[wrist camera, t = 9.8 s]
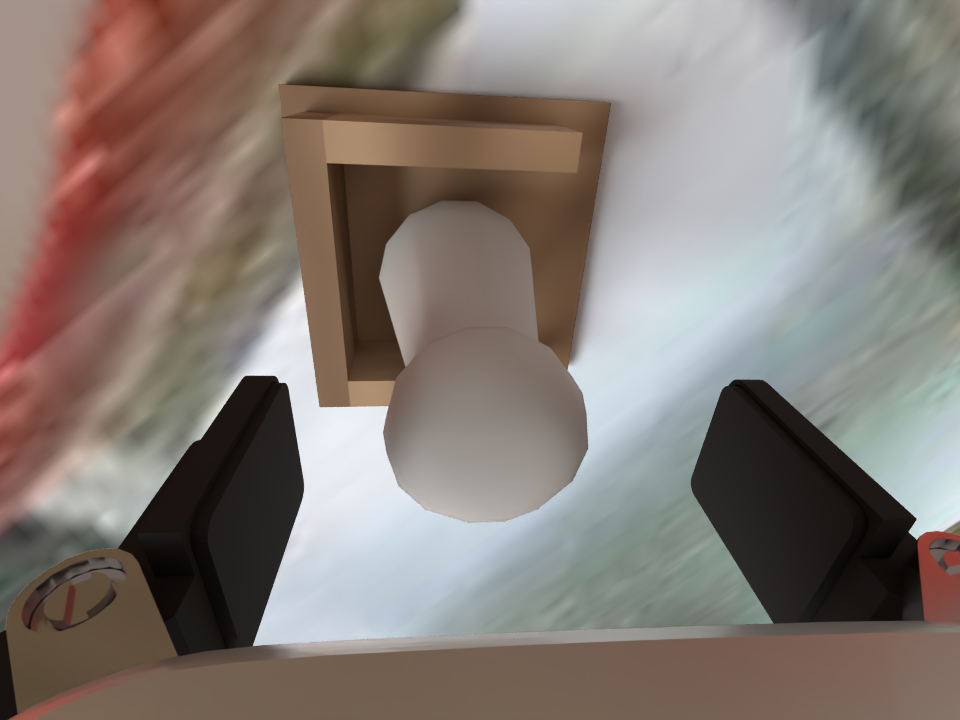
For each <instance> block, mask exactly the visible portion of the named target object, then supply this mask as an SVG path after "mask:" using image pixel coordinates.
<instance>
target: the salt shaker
mask: <svg viewBox="0 0 960 720" xmlns="http://www.w3.org/2000/svg"><path fill="white" fill-rule="evenodd" d="M379 280H380V283H381V286H382V290H383V293H384V296H385V300H386V303H387V306H388V310H389V313H390V317H391V320H392V323H393V327H394V330H395V333H396V337H397V340H398V343H399V347H400V350H401V353H402V357H403V360H404V364H405V369H404V370H403V371H402V372H401V373H400V374H399V375H398V377H397V378H396V381H395V384H394V388H393V392H392V396H391V400H390V404H389V408H388V412H387V416H386V421H385V426H384V431H383V435H384V440H385V446H386V452H387V455H388V458H389V461H390V463H391V466H392V469H393V472H394V474H395V477H396V480H397V483H398V485H399V487H400V488H401V489H403V490H404V491H405V492H406V493H407V494H408V495H409V496H411V497H412V498H413V499H414V500H415V501H416V502H417V503H418V504H420V505H421V506H422V507H423V508H424V509H425V510H427V511H431V512H434V513H437V514H441V515H444V516H448V517H451V518H454V519H458V520H461V521H465V522H468V523H476V522H505V521H508V520H510V519H513V518H515V517H518V516H521V515H523V514H526V513H529V512H531V511H534V510H537V509H539V508H540V507H541V506H542V505H543V504H545V503H546V502H547V501H548V500H550V499H551V498H552V497H553V496H555V495H556V494H557V493H558V492H559V491H561V490H562V489H563V488H564V487H566V486H567V485H568V484H569V483H571V482H572V481H573V479H574V477H575V475H576V473H577V471H578V468H579V466H580V464H581V462H582V460H583V458H584V456H585V454H586V452H587V450H588V436H587V416H586V409H585V404H584V399H583V394H582V392H581V390H580V389H579V387H578V385H577V384H576V382H575V381H574V379H573V377H572V376H571V375H570V373H569V372H568V371H567V369H566V368H565V367H564V365H563V364H562V363H561V361H560V360H559V359H558V357H557V356H556V355H555V353H554V352H553V351H552V349H551V348H550V347H548V346H546V345H544V344H542V343H540V342H538V331H537V321H536V310H535V300H534V289H533V276H532V266H531V257H530V248H529V247H528V245H527V244H526V242H525V241H524V239H523V238H522V236H521V235H520V233H519V232H518V231H517V229H516V228H515V226H514V225H513V223H512V222H511V220H510V219H508V218H506V217H505V216H503V215H501V214H499V213H497V212H495V211H494V210H492V209H490V208H488V207H486V206H485V205H483V204H481V203H479V202H477V201H457V200H441V201H439V202H436V203H434V204H432V205H430V206H427V207H425V208H423V209H421V210H418V211H416V212H414V213H412V214H410V215H409V216H408V217H407V218H406V220H405V221H404V222H403V223H402V225H401V226H400V227H399V229H398V230H397V231H396V232H395V234H394V235H393V236H392V237H391V239H390V240H389V241H388V242H387V244H386V247H385V252H384V257H383V261H382V266H381V271H380V275H379Z"/></svg>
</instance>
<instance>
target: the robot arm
mask: <svg viewBox="0 0 960 720" xmlns="http://www.w3.org/2000/svg"><path fill="white" fill-rule="evenodd" d="M691 488H692V491H693V494H694V496H695V497H696V499H697V500H698V502H699V504H700V505H701V507H702V509H703V510H704V512H705V513H706V515H707V517H708V518H709V520H710V521H711V523H712V525H713V526H714V528H715V530H716V531H717V533H718V534H719V536H720V538H721V539H722V541H723V542H724V544H725V546H726V547H727V549H728V550H729V552H730V554H731V555H732V557H733V559H734V560H735V562H736V563H737V565H738V567H739V568H740V570H741V571H742V573H743V575H744V576H745V578H746V580H747V581H748V583H749V584H750V586H751V588H752V589H753V591H754V592H755V594H756V596H757V597H758V599H759V600H760V602H761V604H762V605H763V607H764V609H765V610H766V612H767V613H768V615H769V617H770V618H771V620H772V621H773V623H774V624H746V625H714V626H684V627H656V628H629V629H601V630H575V631H549V632H522V633H499V634H475V635H452V636H428V637H405V638H382V639H360V640H344V641H327V642H310V643H293V644H277V645H261V646H253V643H254V640H255V637H256V634H257V632H258V629H259V626H260V623H261V620H262V617H263V614H264V611H265V608H266V605H267V602H268V599H269V596H270V593H271V590H272V587H273V584H274V581H275V578H276V575H277V572H278V569H279V567H280V564H281V561H282V558H283V555H284V552H285V549H286V546H287V543H288V540H289V537H290V534H291V531H292V528H293V525H294V522H295V519H296V516H297V513H298V510H299V507H300V504H301V502H302V498H303V493H304V480H303V474H302V468H301V462H300V456H299V450H298V444H297V438H296V432H295V426H294V420H293V414H292V408H291V402H290V396H289V390H288V386H287V384H286V383H279V381H278V379H277V377H275V376H245V377H244V378H243V379H242V380H241V382H240V383H239V385H238V386H237V387H236V389H235V390H234V392H233V393H232V395H231V396H230V398H229V399H228V401H227V402H226V404H225V405H224V406H223V408H222V409H221V411H220V412H219V414H218V415H217V417H216V418H215V420H214V421H213V423H212V424H211V426H210V427H209V428H208V430H207V431H206V433H205V434H204V436H203V437H202V439H201V440H198V441H195V442H194V443H193V444H192V445H191V446H190V447H189V448H188V450H187V451H186V452H185V454H184V455H183V457H182V458H181V460H180V461H179V462H178V464H177V465H176V467H175V468H174V469H173V471H172V472H171V474H170V475H169V477H168V478H167V479H166V481H165V482H164V484H163V485H162V487H161V488H160V489H159V491H158V492H157V494H156V495H155V497H154V498H153V499H152V501H151V502H150V504H149V505H148V507H147V508H146V509H145V511H144V512H143V514H142V515H141V516H140V518H139V519H138V521H137V522H136V524H135V525H134V526H133V528H132V529H131V531H130V532H129V534H128V535H127V536H126V538H125V539H124V541H123V542H122V544H121V545H120V546H119V548H118V549H106V548H104V549H98V550H93V551H87V552H84V553H81V554H79V555H76V556H73V557H70V558H68V559H66V560H64V561H62V562H60V563H58V564H56V565H54V566H53V567H51V568H49V569H47V570H46V571H45V572H43V573H42V574H41V575H39V576H38V577H37V578H35V579H34V580H33V581H31V582H30V583H29V584H28V585H27V586H26V587H25V588H24V590H23V591H22V592H21V593H20V594H19V595H18V596H17V597H16V599H15V600H14V602H13V604H12V606H11V607H10V609H9V611H8V613H7V620H6V630H5V631H3V632H1V633H0V720H960V536H959V535H955V534H952V533H946V532H939V531H934V532H926V533H924V534H923V535H921V536H920V537H919V538H918V539H917V540H916V539H915V538H914V537H913V536H912V535H911V534H910V533H909V530H910V529H911V527H912V526H913V524H914V523H915V521H916V520H917V519H916V518H915V517H914V516H913V515H912V514H911V513H910V512H909V511H908V510H906V509H905V508H904V507H903V506H902V505H901V504H900V503H899V502H898V501H897V500H895V499H894V498H893V497H892V496H891V495H890V494H889V493H888V492H887V491H886V490H884V489H883V488H882V487H881V486H880V485H879V484H878V483H877V482H876V481H874V480H873V479H872V478H871V477H870V476H869V475H868V474H867V473H866V472H865V471H863V470H862V469H861V468H860V467H859V466H858V465H857V464H856V463H855V462H854V461H852V460H851V459H850V458H849V457H848V456H847V455H846V454H845V453H844V452H843V451H841V450H840V449H839V448H838V447H837V446H836V445H835V444H834V443H833V442H832V441H830V440H829V439H828V438H827V437H826V436H825V435H824V434H823V433H822V432H820V431H819V430H818V429H817V428H816V427H815V426H814V425H813V424H812V423H811V422H809V421H808V420H807V419H806V418H805V417H804V416H803V415H802V414H801V413H800V412H798V411H797V410H796V409H795V408H794V407H793V406H792V405H791V404H790V403H789V402H787V401H786V400H785V399H784V398H783V397H782V396H781V395H780V394H779V393H778V392H776V391H775V390H774V389H773V388H772V387H771V386H770V385H769V384H768V383H766V382H765V381H763V380H734V381H732V382H731V383H730V384H729V386H726V387H724V388H723V390H722V392H721V394H720V397H719V400H718V403H717V406H716V409H715V411H714V414H713V417H712V420H711V423H710V426H709V429H708V432H707V434H706V437H705V440H704V443H703V446H702V449H701V452H700V455H699V458H698V460H697V463H696V466H695V469H694V472H693V475H692V478H691Z"/></svg>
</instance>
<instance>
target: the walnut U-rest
mask: <svg viewBox="0 0 960 720" xmlns="http://www.w3.org/2000/svg"><path fill="white" fill-rule="evenodd" d="M278 86H279V93H280V101H281V108H282V116H283V117H282V118H281V125H282V133H283V140H284V147H285V155H286V162H287V170H288V177H289V184H290V192H291V199H292V207H293V214H294V221H295V229H296V236H297V244H298V251H299V258H300V266H301V273H302V280H303V288H304V295H305V303H306V310H307V317H308V325H309V332H310V340H311V347H312V354H313V362H314V369H315V377H316V384H317V391H318V399H319V406H320V407H357V406H389V404H390V400H391V396H392V392H393V388H394V384H395V381H396V378H397V377H398V375H399V374H400V373H401V372H402V371H403V370H404V369H405V364H404V360H403V357H402V353H401V350H400V347H399V343H398V340H397V337H396V333H395V330H394V327H393V323H392V320H391V317H390V313H389V310H388V306H387V303H386V300H385V296H384V293H383V290H382V286H381V283H380V280H379V275H380V271H381V266H382V261H383V257H384V252H385V247H386V244H387V242H388V241H389V240H390V239H391V237H392V236H393V235H394V234H395V232H396V231H397V230H398V229H399V227H400V226H401V225H402V223H403V222H404V221H405V220H406V218H407V217H408V216H409V215H410V214H412V213H414V212H416V211H418V210H421V209H423V208H425V207H427V206H430V205H432V204H434V203H436V202H439V201H441V200H457V201H477V202H479V203H481V204H483V205H485V206H486V207H488V208H490V209H492V210H494V211H495V212H497V213H499V214H501V215H503V216H505V217H506V218H508V219H510V220H511V222H512V223H513V225H514V226H515V228H516V229H517V231H518V232H519V233H520V235H521V236H522V238H523V239H524V241H525V242H526V244H527V245H528V247H529V248H530V257H531V266H532V276H533V289H534V300H535V310H536V321H537V331H538V342H540V343H542V344H544V345H546V346H548V347H550V348H551V349H552V351H553V352H554V353H555V355H556V356H557V357H558V359H559V360H560V361H561V363H562V364H563V365H564V367H565V368H566V369H568V363H569V357H570V351H571V345H572V338H573V332H574V326H575V320H576V314H577V308H578V302H579V296H580V290H581V283H582V277H583V271H584V265H585V259H586V253H587V247H588V241H589V235H590V228H591V222H592V216H593V210H594V204H595V198H596V192H597V186H598V180H599V173H600V167H601V161H602V155H603V149H604V143H605V137H606V131H607V125H608V118H609V112H610V106H611V103H605V102H588V101H570V100H553V99H535V98H517V97H500V96H482V95H465V94H447V93H429V92H412V91H394V90H377V89H359V88H341V87H324V86H306V85H289V84H278Z"/></svg>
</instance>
